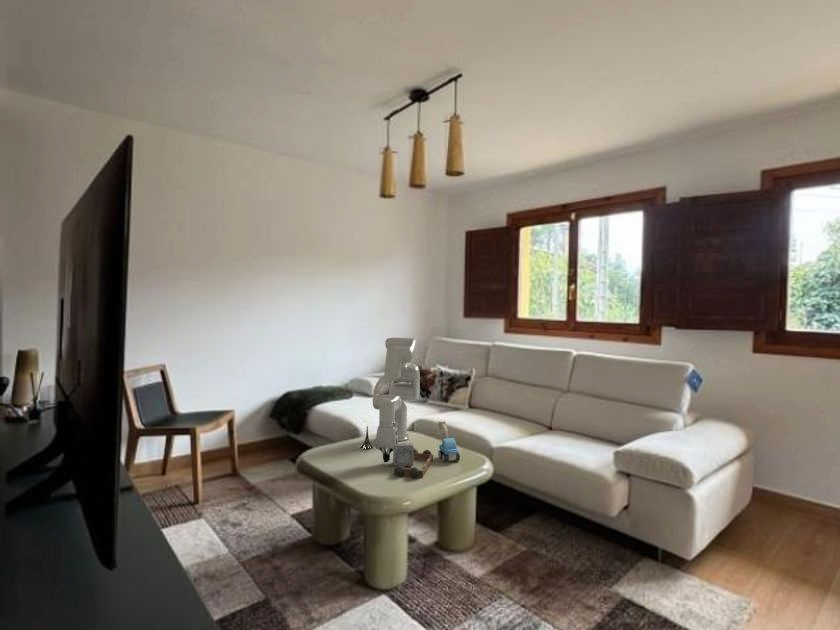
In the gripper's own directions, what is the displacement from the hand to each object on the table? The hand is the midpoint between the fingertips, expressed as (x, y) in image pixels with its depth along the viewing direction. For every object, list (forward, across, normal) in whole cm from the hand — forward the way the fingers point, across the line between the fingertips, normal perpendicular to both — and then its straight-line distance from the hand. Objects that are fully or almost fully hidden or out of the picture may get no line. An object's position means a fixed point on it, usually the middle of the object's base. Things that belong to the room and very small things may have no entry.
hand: (386, 461), depth 221 cm
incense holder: (+1, -8, -2) cm, 8 cm away
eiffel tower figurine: (+2, +17, -19) cm, 26 cm away
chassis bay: (+1, -14, 0) cm, 14 cm away
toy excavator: (+2, -26, -18) cm, 32 cm away
